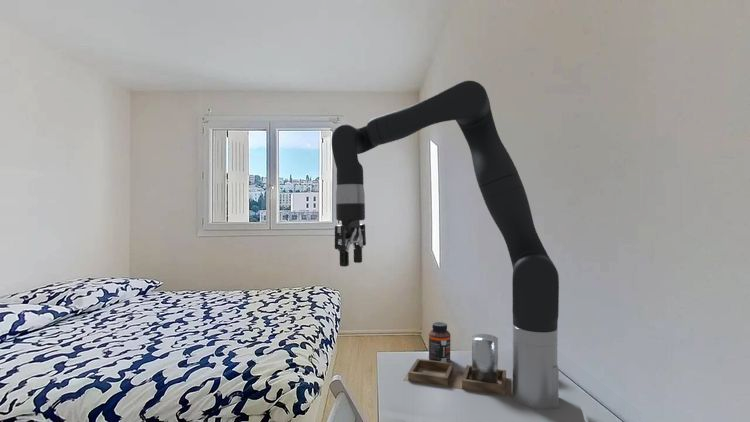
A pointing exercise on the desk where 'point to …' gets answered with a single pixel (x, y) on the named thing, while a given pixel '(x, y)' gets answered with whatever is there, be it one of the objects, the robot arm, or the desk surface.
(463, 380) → the wooden double tray
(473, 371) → the seated can
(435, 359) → the supplement bottle
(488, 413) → the desk surface
